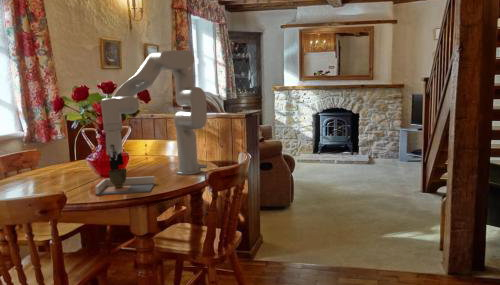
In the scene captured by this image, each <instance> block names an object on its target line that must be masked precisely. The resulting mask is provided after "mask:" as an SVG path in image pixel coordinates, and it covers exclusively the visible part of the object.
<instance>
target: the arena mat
mask: <svg viewBox="0 0 500 285" xmlns="http://www.w3.org/2000/svg"><path fill="white" fill-rule="evenodd" d="M155 184H156V183H152V184H134V185H123V187H122V188H115V187H114V186H106V187H105V188H104V189H103V190H102V191H101V192H100V193H99V194H96V193H95V196H105V195H121V194H122V195H123V194H125V195H126V194H142V193H151V191H152V190H153V188H154V186H155Z"/></svg>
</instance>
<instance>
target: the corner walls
mask: <svg viewBox="0 0 500 285" xmlns="http://www.w3.org/2000/svg"><path fill="white" fill-rule="evenodd" d="M152 183H155V176H154V175H152V176H151V175H150V176H137V177H136V176H135V177H134V176H133V177H126V181H125V183H123V185H134V184H152ZM155 184H156V183H155ZM106 186H114V184H112V183H111V181H110V178H103V179H102V180H101V181H99V183H97V184H96V185H95V186H94V191H95V195H96V194H99V193H100V192H101V191H102V190H103V189H104V188H105V187H106Z"/></svg>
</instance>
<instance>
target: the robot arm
mask: <svg viewBox="0 0 500 285" xmlns="http://www.w3.org/2000/svg"><path fill="white" fill-rule="evenodd" d="M194 63H195V57H194V54H193V53H192V52H191V51H189V50H187V49H182V50H181V49H179V50H161V51H153V52H151V53H150V54H148V55H147V57H146V58H145V60H144V61H143V62H142V64H141V65H140V66H139V69H137V71H136V72H135V74H134V75H133V76H131V77H130V78H129V79H128V80H126V81H125V82H123V84H121V86H119V87H118V88H117V90H116V91H115V93H114V94H113V95H112V97H108V98H107V97H105V98H102V99H101V100H100V108H101V115H102V116H101V117H102V124H103V126H102V127H103V132H104V133H105V150H106V155H107V156H109V165H110V170H116V171H117V169H120V167H119V166H123V165H124V157H123V140H122V132H121V131H123V122H122V121H123V120H122V119H123V118H122V114H123V115H124V114H127V115H128V114H130V115H131V114H134V113H136V112H137V111H138V110H139V108H140V102H139V100H138V98H136V97H134V96H135V95H137V94H138V93H140V92H143V91H145V90H147V89H149V88H150V87H152V86H153V84H154V83H155V80H156V79H157V77H158V76H159V75H160V73H161V72H162V71H166V70H168V71H170V72H171V74H172V75H173V77H174V83H175V84H174V88H175V101H176V104H177V105H178V106H179V107H183V108H190V109H180V110H178V111H176V112H175V114H174V116H173V124H174V128H175V133H176V143H177V144H176V145H177V161H178V165H177V166H178V169H176V170H175V174H177V175H181V176H185V175H187V176H188V175H197V174H199V173H201V172H202V169H207V168H208V167H207V166H208V165H207V163H206V164H205V163H203V164H200V163H199V161H198V149H197V135H196V133H195V130H201V129H203V128H205V126H206V124H207V122H208V121H207V119H208V117H207V116H208V114H207V113H208V111H207V108H208V107H207V95H206V93H205V91H204V89H202V88H201V87H198V86H194V85H193V84H194V82H193V75H192V73H191V71H190V68H191V67H192V66H193V65H194Z"/></svg>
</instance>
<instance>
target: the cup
mask: <svg viewBox="0 0 500 285" xmlns="http://www.w3.org/2000/svg"><path fill="white" fill-rule="evenodd" d="M107 172H108V176H109V179H110V181H111V183H112V184H114V187H115V188H122V187H123V183H125V181H126V178H127V168H120V167H119V169H117V170H111V169H109V170H108V171H107Z"/></svg>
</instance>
